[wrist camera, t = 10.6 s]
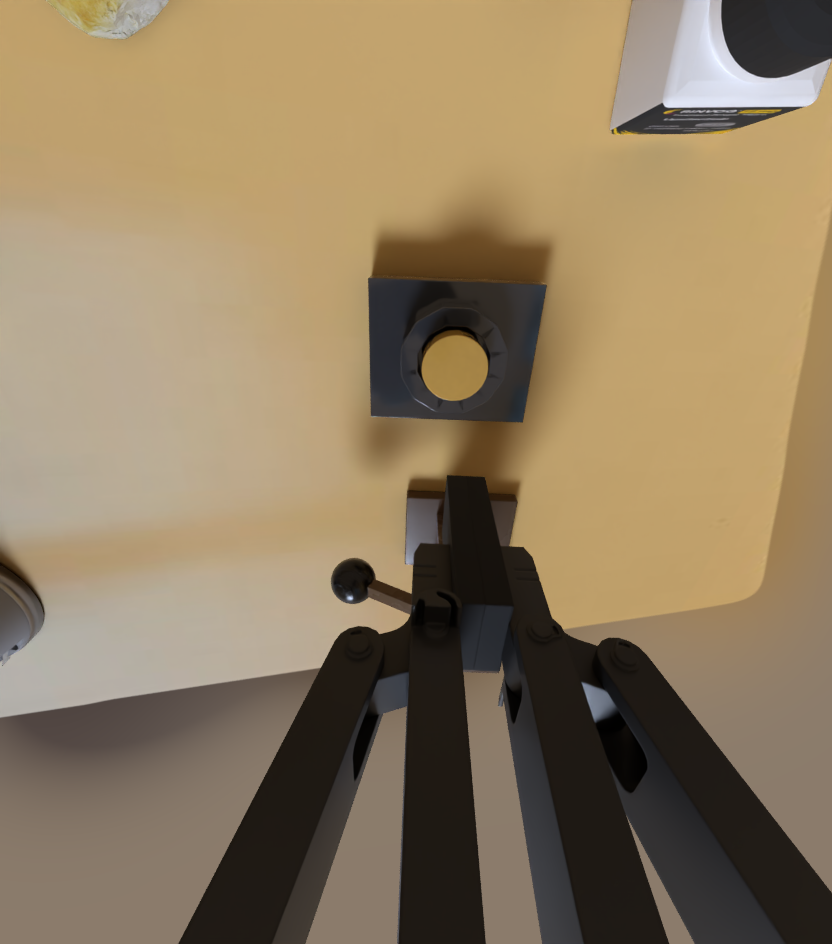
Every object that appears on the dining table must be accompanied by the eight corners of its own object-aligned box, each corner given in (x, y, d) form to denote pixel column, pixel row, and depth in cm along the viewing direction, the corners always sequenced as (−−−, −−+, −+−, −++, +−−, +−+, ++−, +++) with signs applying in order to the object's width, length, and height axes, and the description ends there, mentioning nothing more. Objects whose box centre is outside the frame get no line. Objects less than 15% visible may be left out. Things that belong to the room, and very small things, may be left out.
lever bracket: (405, 556, 43) (398, 683, 31) (407, 490, 39) (400, 606, 27) (503, 560, 43) (534, 687, 31) (515, 494, 39) (556, 611, 27)
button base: (373, 407, 35) (367, 427, 31) (371, 274, 30) (364, 280, 26) (518, 413, 35) (528, 433, 31) (539, 281, 30) (555, 288, 26)
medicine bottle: (606, 135, 26) (730, 71, 15) (636, -36, 22) (823, -269, 12) (724, 134, 26) (928, 69, 15) (773, -37, 22) (1083, -274, 12)
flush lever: (348, 575, 37) (323, 603, 34) (346, 543, 35) (320, 570, 33) (492, 634, 32) (476, 672, 29) (498, 600, 30) (482, 637, 28)
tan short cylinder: (420, 391, 30) (420, 399, 29) (423, 328, 28) (423, 333, 27) (481, 393, 30) (484, 402, 29) (488, 330, 28) (492, 336, 27)
